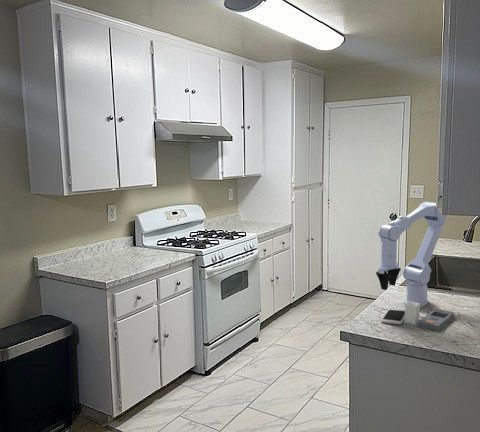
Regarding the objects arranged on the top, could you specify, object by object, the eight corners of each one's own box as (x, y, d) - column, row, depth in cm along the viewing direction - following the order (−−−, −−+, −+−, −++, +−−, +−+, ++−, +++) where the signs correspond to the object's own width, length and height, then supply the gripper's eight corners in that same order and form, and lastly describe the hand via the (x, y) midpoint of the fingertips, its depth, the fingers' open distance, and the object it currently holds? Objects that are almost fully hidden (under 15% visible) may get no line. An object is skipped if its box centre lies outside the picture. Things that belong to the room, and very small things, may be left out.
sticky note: (406, 318, 173) (406, 317, 173) (423, 321, 169) (423, 321, 169) (400, 322, 169) (400, 322, 169) (417, 326, 164) (417, 326, 164)
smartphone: (408, 311, 179) (407, 309, 179) (400, 324, 165) (400, 322, 165) (389, 310, 182) (389, 307, 182) (381, 322, 169) (380, 320, 169)
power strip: (435, 313, 178) (435, 307, 177) (453, 317, 173) (454, 311, 173) (418, 326, 164) (418, 320, 164) (437, 331, 160) (438, 325, 159)
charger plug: (408, 318, 172) (409, 300, 171) (419, 321, 169) (419, 302, 168) (404, 321, 169) (405, 303, 168) (415, 324, 166) (415, 305, 165)
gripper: (390, 259, 172) (390, 293, 174) (405, 252, 183) (405, 284, 185) (373, 256, 177) (373, 290, 179) (389, 250, 188) (388, 282, 190)
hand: (388, 287), depth 182 cm, fingers open, 7 cm apart
